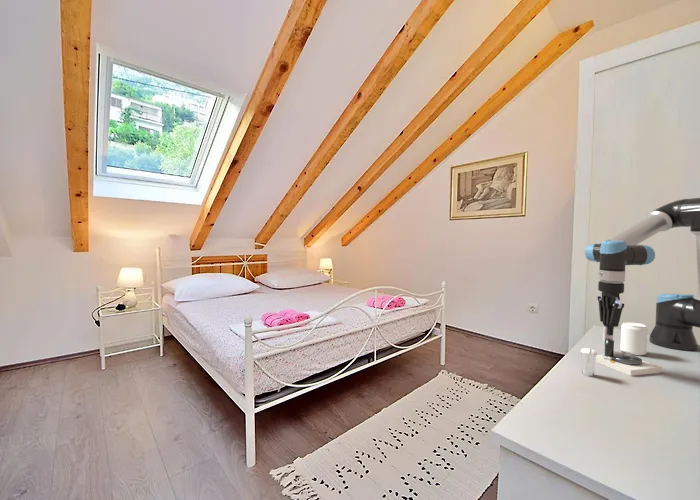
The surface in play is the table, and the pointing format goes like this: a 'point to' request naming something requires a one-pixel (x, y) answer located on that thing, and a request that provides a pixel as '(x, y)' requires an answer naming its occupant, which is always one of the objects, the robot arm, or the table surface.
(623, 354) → the dial
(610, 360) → the dial board
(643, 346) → the beverage can
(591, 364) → the milkshake
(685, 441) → the table surface
